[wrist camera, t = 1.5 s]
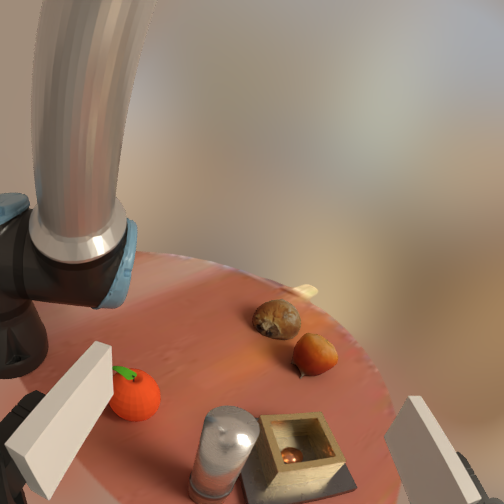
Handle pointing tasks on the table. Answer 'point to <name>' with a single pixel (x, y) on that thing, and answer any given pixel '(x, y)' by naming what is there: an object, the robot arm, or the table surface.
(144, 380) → the clementine
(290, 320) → the bread roll
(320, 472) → the gold square holder
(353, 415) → the table surface
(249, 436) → the silver metal tall cylinder
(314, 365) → the fruit
